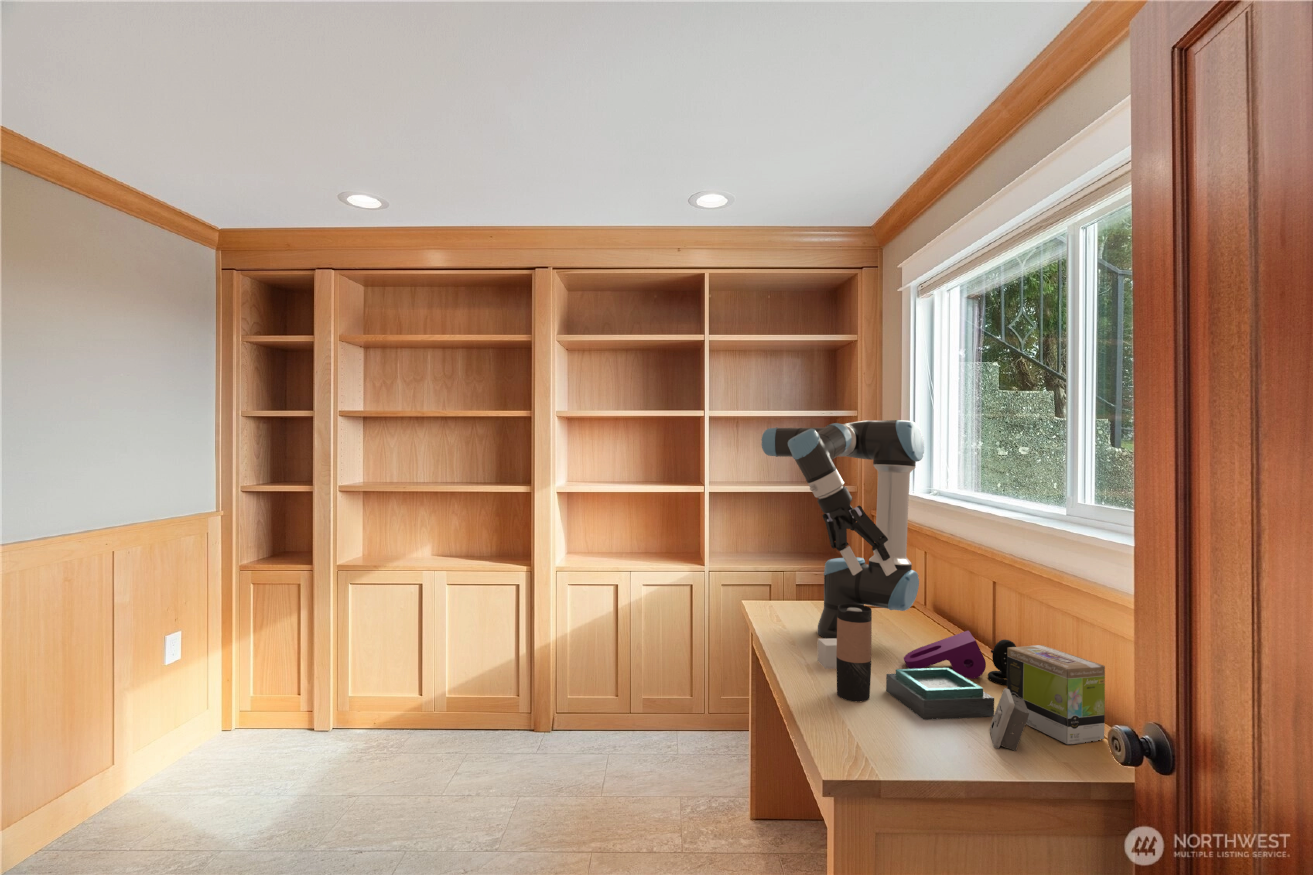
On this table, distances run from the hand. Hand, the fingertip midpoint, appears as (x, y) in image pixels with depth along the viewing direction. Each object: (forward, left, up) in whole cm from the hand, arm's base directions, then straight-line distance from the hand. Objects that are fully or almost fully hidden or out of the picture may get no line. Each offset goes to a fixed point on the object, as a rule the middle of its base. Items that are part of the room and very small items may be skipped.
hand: (873, 572), depth 154 cm
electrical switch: (+28, +14, -28) cm, 42 cm away
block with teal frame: (+9, +11, -27) cm, 31 cm away
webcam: (-3, +36, -28) cm, 45 cm away
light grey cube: (-18, -2, -28) cm, 33 cm away
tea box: (+23, +28, -28) cm, 46 cm away
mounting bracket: (-12, +25, -28) cm, 39 cm away
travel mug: (+3, -6, -27) cm, 28 cm away
